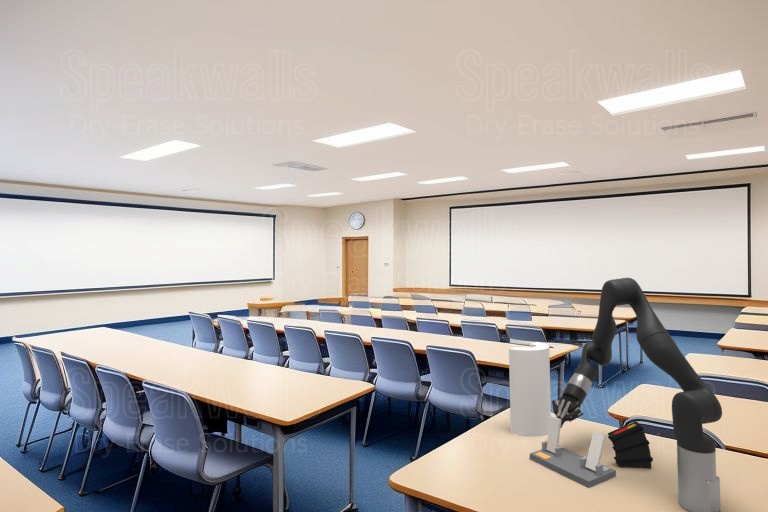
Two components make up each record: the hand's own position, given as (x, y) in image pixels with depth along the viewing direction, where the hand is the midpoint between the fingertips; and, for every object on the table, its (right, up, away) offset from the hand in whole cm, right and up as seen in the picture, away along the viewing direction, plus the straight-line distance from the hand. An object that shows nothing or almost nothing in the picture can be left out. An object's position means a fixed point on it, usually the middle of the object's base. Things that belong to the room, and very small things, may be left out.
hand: (556, 427), depth 164 cm
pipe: (+1, -11, +25) cm, 27 cm away
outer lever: (-2, -8, -2) cm, 8 cm away
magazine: (+22, -10, -9) cm, 26 cm away
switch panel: (+2, -10, -9) cm, 14 cm away
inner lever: (+6, -8, -16) cm, 18 cm away
